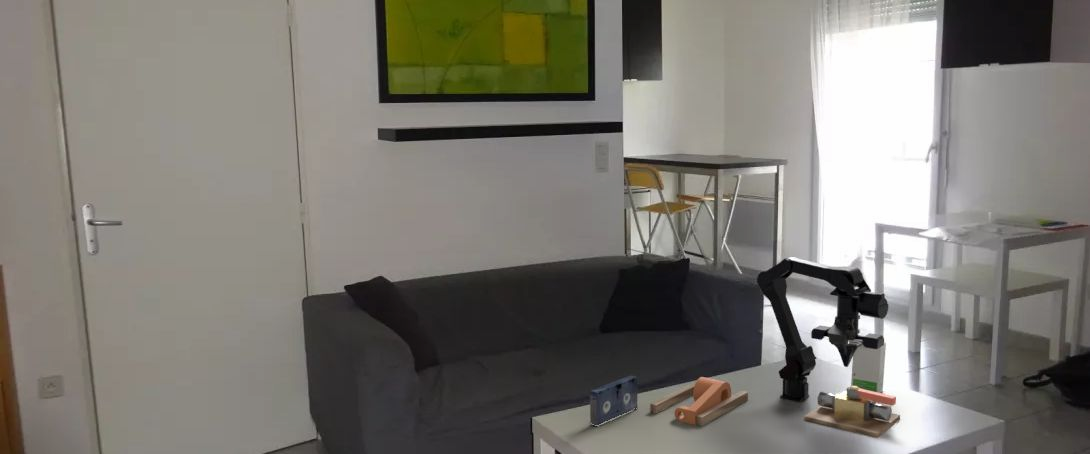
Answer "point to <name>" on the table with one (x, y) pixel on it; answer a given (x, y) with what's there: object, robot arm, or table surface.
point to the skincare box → (868, 368)
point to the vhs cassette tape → (613, 400)
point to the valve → (854, 407)
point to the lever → (870, 395)
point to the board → (851, 422)
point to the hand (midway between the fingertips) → (846, 366)
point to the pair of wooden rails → (705, 415)
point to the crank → (704, 398)
